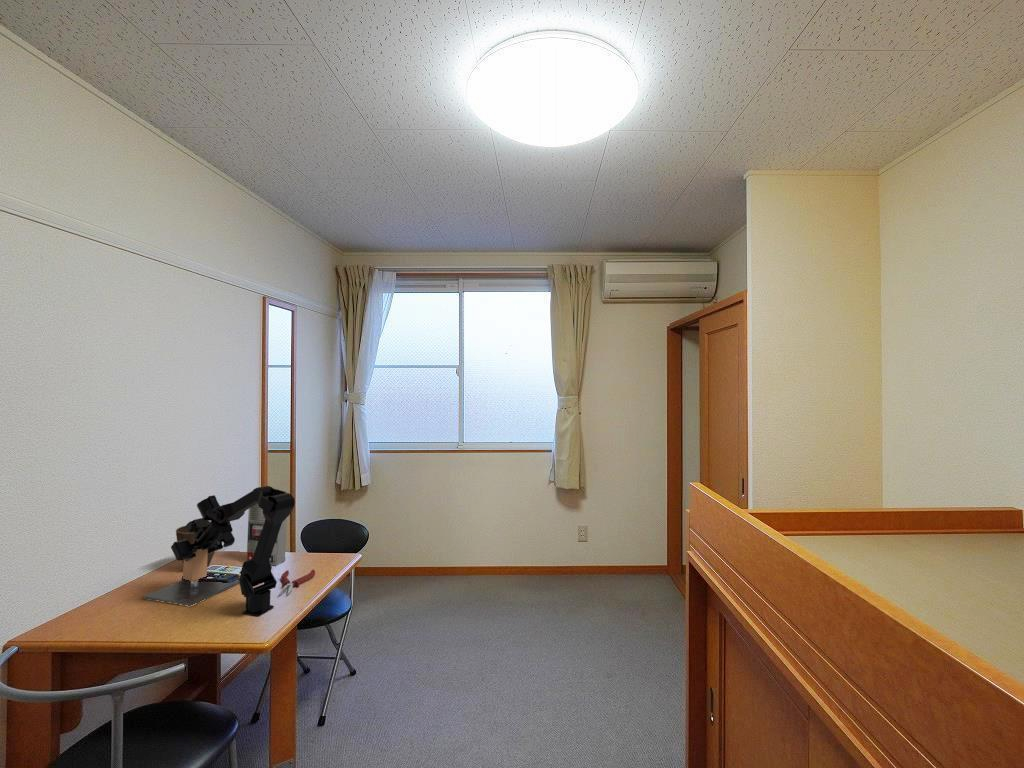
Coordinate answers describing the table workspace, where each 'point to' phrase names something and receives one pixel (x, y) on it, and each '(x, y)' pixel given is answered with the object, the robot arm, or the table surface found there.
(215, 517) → the robot arm
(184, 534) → the plant pot
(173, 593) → the plate
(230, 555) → the table surface
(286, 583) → the pliers
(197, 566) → the sleeve
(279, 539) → the grey electrical device
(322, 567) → the table surface
